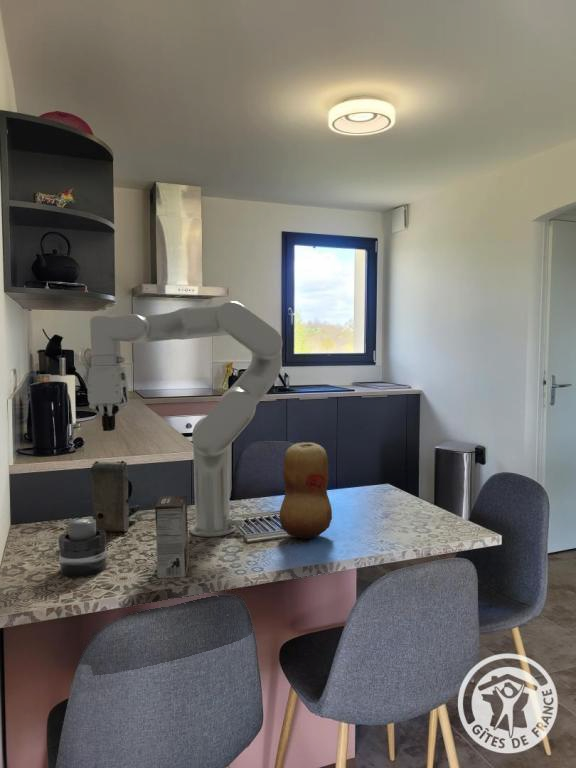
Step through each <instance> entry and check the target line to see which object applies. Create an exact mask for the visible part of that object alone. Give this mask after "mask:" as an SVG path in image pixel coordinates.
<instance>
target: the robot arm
mask: <svg viewBox="0 0 576 768" xmlns="http://www.w3.org/2000/svg"><path fill="white" fill-rule="evenodd" d="M89 328H90V329H89V330H90V331H89V333H90V354H91V355H90V357H91V358H90V359H91V367H89V371H88V376H87V377H88V378H87V400H88V401H87V402H88V403H89V404H88V407H89V409H92V410H96V411H97V413H98V414H99V416H101V426H102V430H103V432H112V431H114V430H115V429H116V416H117V414H118V412H119V411H120V410H123V409H126V408H127V407H128V402H129V399H130V394H129V383H128V377H127V374H126V369H125V366H122V363H125V362H126V358H125V357H123V356H122V353H121V342H128V343H133V344H142V343H152V342H159V341H160V342H162V341H170V340H191V339H198V338H199V339H200V338H201V339H202V338H209V337H220V336H230V337H232V338H233V339H234V340H235V341H237V342H238V343H239V344H241V345H242V346H244V348H245V349H248V350H249V351H250V354H251V361H250V364H249V365H248V367H247V368H246V369H245V370H244V371H243V373H242V374H241V375H240V377H239V378H238V379H237V380H236V381H235V382H234V383H233V384H232V385H231V386H230V388H228V389H227V390H226V391H225V392H224V393H223V394H222V396H221V397H220V399H219V401H218V402H217V404H216V405H214V407H213V408H212V410H210V412H209V413H208V414H207V415H206V416H205V417H202V418H200V419H199V420H198V421H197V422H196V423H195V424H194V426H193V430H192V435H191V437H192V438H191V440H192V446H193V449H192V450H193V481H194V484H193V485H194V487H193V488H194V514H195V515H194V516H195V523H193V524H192V525H191V526H190V527H189V532H190V534H191V535H194V536H196V537H197V536H198V537H203V538H204V537H205V538H206V537H207V538H209V537H210V538H211V537H213V538H214V537H221V536H225V535H226V536H227V535H229V534H231V533H233V532H235V530H236V528H237V527H241V528H242V527H243V528H244V526H245V519H243V517H235V516H234V512H233V511H231V510H230V506H231V505H230V480H229V479H230V478H229V477H230V476H229V475H230V474H229V473H230V471H229V470H230V469H229V464H230V463H229V446H230V445H231V444H232V443H233V442H234V441H235V439H236V438H237V437H238V436H239V435H241V432H243V430H245V428H246V427H247V426H248V425H249V424H250V422H251V421H252V420H253V418H254V416H255V413H256V410H257V405H258V403H260V401H261V400H262V399H263V398H264V397H265V396H266V394H267V393H268V392H269V390H270V389H271V388H272V387H273V386H274V385H275V383H276V381H277V380H278V377H279V375H280V372H281V368H282V353H281V351H282V349H283V345H284V344H283V342H284V341H283V338H282V336H281V334H280V333H279V331H278V330H276V329H275V327H273V326H271V325H270V324H269V323H267V322H266V321H265V320H263V319H262V318H260V317H259V316H258V315H256V314H255V313H253V311H251V310H250V309H249V308H247V307H246V306H245V305H243V304H242V303H240V302H239V301H234V300H231V301H226V302H223V303H221V304H211V305H200V306H190V307H189V306H188V307H183V308H179V309H177V310H174V311H170V312H167V313H158V314H151V315H139V314H135V313H128V314H123V315H110V314H109V315H103V314H102V315H94V316H92V317H91V318H90V321H89Z"/></svg>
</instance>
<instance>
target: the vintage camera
mask: <svg viewBox="0 0 576 768" xmlns="http://www.w3.org/2000/svg"><path fill="white" fill-rule="evenodd" d="M90 474H91V490H92V491H91V495H92V499H91V500H92V503H91V504H92V519H95V520H96V529H102V530H104V531H105V533H127V532H128V531H129V527H130V518H131V517H132V516H133V515H135V514H136V513H137V512H139V511H140V510H141V509H142V508H143V506H141V505H140V504H138V503H137V504H135V505H133V506H130V505H129V504H130V503H129V502H130V498H131V497H132V493H133V484H132V482H131V480H129V472H128V464H127V462H126V461H124V460H121V461H116V462H115V461H114V462H108V461H102V462H100V461H98V460H97V461H94V462H93V464H92V466H91V468H90ZM126 531H127V532H126Z"/></svg>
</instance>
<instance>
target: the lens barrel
mask: <svg viewBox="0 0 576 768" xmlns="http://www.w3.org/2000/svg"><path fill="white" fill-rule="evenodd" d="M106 537H107V535H106V532H105V531H104V530H102V529H96V537H93V538H90V539H85V540H69V535H68V531H66V532H64V533H62V534H60V535H59V537H58V548H59V554H58V558H59V563H60V564H59V565H60V567H59V568H60V574H61V576H64V577H67V578H83V577H84V578H85V577H90V576H94V575H97V574H100V573H102V572H104V570H106V569H107V556H108V554H107V553H108V550H107V543H106V541H107V539H106Z"/></svg>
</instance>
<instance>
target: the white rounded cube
mask: <svg viewBox="0 0 576 768" xmlns="http://www.w3.org/2000/svg"><path fill="white" fill-rule="evenodd" d="M67 529H68V531H67V532H68V535H69V540H85V539H90V538H93V537H96V520H95V519H93V518H89V517H88V518H87V517H85V518H77V519H74V520H70V521H69V522H67Z"/></svg>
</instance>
